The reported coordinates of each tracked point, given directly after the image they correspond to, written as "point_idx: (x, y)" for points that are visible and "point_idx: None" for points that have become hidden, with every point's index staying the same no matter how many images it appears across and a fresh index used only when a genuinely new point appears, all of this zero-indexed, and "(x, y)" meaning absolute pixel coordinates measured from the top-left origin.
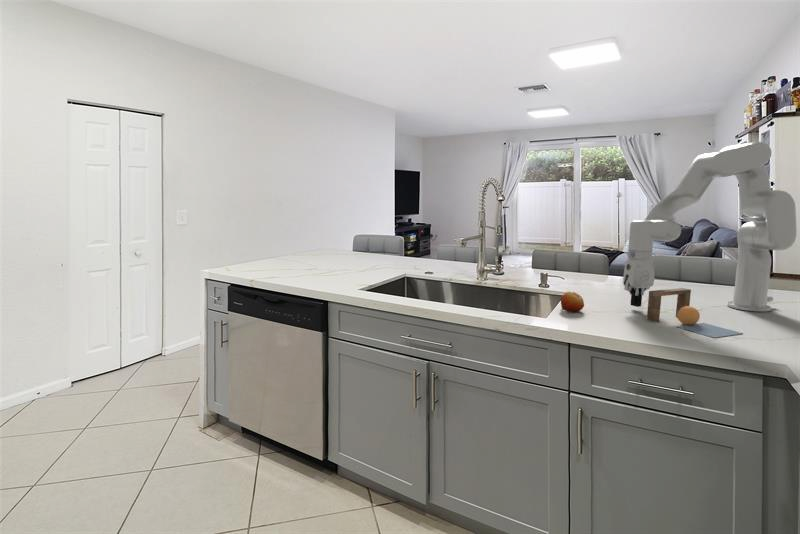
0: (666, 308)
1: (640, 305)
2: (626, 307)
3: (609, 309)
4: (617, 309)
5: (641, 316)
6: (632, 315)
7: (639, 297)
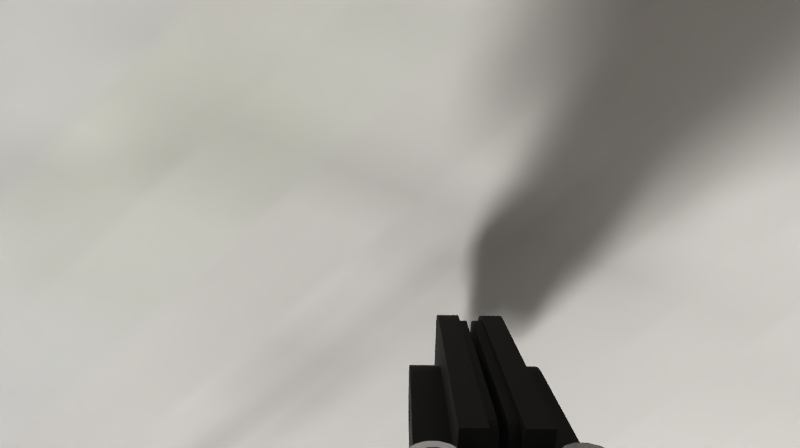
0: (27, 261)
1: (450, 319)
2: None
3: (703, 439)
4: (625, 412)
5: (689, 66)
6: (741, 150)
7: (521, 403)
